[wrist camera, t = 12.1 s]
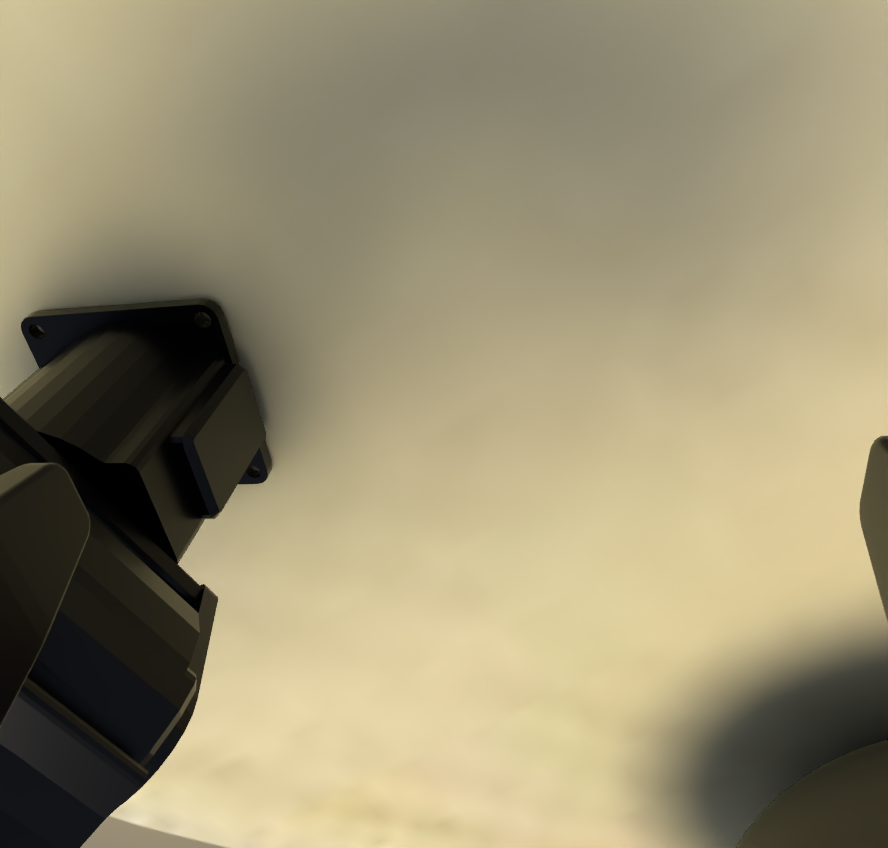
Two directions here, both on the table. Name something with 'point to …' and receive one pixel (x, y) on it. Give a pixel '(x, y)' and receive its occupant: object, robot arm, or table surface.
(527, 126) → the table surface
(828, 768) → the coal bowl
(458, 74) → the table surface
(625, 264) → the table surface
